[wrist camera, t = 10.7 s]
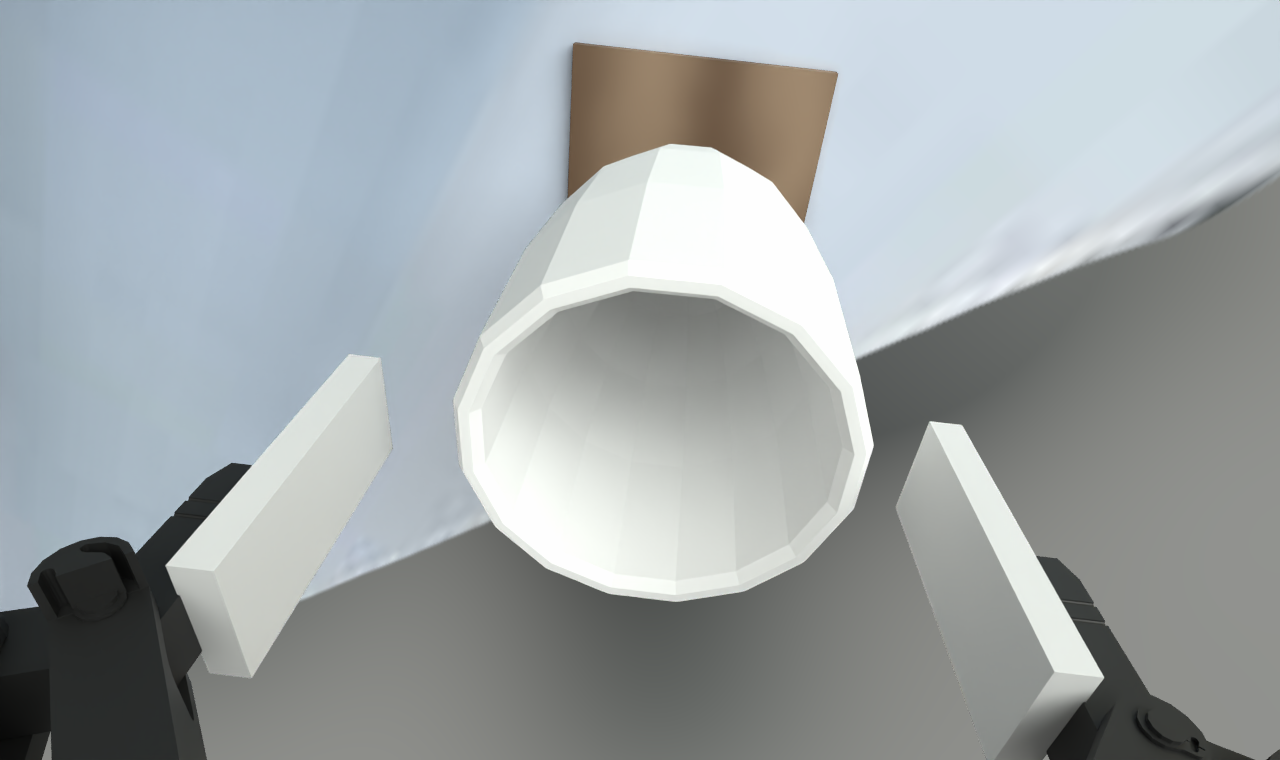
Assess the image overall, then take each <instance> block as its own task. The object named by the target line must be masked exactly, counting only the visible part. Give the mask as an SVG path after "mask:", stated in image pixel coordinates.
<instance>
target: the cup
mask: <svg viewBox="0 0 1280 760" xmlns="http://www.w3.org/2000/svg"><path fill="white" fill-rule="evenodd" d="M453 407H454V418H455V428H456V438H457V449H458V459H459V466H460V467H461V469H462V471H463V473H464V474H465V476H466V478H467V480H468V481H469V483H470V485H471V486H472V488H473V490H474V491H475V493H476V495H477V497H478V498H479V500H480V502H481V503H482V505H483V507H484V508H485V510H486V512H487V514H488V515H489V517H490V519H491V520H492V522H493V524H494V526H495V527H496V528H497V529H499V530H500V531H501V532H502V533H503V534H505V535H506V536H507V537H508V538H510V539H511V540H512V541H513V542H514V543H516V544H517V545H518V546H519V547H521V548H522V549H523V550H524V551H525V552H527V553H528V554H529V555H530V556H532V557H533V558H534V559H535V560H537V561H538V562H539V563H540V564H542V565H543V566H544V567H545V568H547V569H549V570H552V571H554V572H556V573H559V574H562V575H564V576H567V577H569V578H571V579H574V580H576V581H579V582H581V583H584V584H586V585H588V586H591V587H593V588H596V589H599V590H601V591H603V592H606V593H608V594H615V595H623V596H632V597H640V598H649V599H657V600H666V601H674V602H679V601H685V600H692V599H698V598H705V597H711V596H718V595H724V594H731V593H736V592H744V591H746V590H748V589H750V588H752V587H754V586H756V585H758V584H760V583H762V582H764V581H766V580H769V579H770V578H773V577H775V576H777V575H779V574H781V573H783V572H785V571H787V570H789V569H791V568H793V567H795V566H797V565H799V564H801V563H803V562H804V561H805V560H806V559H807V558H808V557H809V556H810V555H811V554H812V553H813V552H814V551H815V549H817V548H818V547H819V545H820V544H821V543H822V542H823V541H824V540H825V539H826V538H827V537H828V536H829V535H830V534H831V533H832V532H833V531H834V529H835V528H836V527H837V526H838V525H839V524H840V523H841V522H842V521H843V520H844V519H845V518H846V517H847V515H848V514H849V513H850V512H851V511H852V510H853V509H854V506H855V503H856V500H857V497H858V494H859V490H860V487H861V484H862V481H863V478H864V475H865V472H866V468H867V465H868V462H869V459H870V456H871V453H872V449H873V440H872V435H871V430H870V425H869V420H868V415H867V410H866V405H865V400H864V395H863V390H862V385H861V380H860V375H859V371H858V368H857V364H856V360H855V357H854V353H853V350H852V346H851V342H850V339H849V335H848V331H847V328H846V324H845V321H844V317H843V313H842V310H841V306H840V303H839V299H838V295H837V292H836V288H835V284H834V281H833V278H832V276H831V274H830V272H829V270H828V268H827V266H826V264H825V262H824V260H823V258H822V256H821V255H820V253H819V251H818V249H817V247H816V245H815V243H814V241H813V239H812V237H811V235H810V233H809V231H808V229H807V227H806V226H805V224H804V223H803V222H802V220H801V219H800V218H799V216H798V215H797V214H796V212H795V211H794V210H793V209H792V207H791V206H790V205H789V203H788V202H787V201H786V199H785V198H784V197H783V195H782V194H781V193H780V191H779V190H778V189H777V188H776V186H775V185H774V184H773V182H772V181H770V180H768V179H767V178H765V177H763V176H762V175H760V174H758V173H757V172H755V171H753V170H752V169H750V168H748V167H747V166H745V165H743V164H741V163H739V162H737V161H735V160H734V159H732V158H730V157H728V156H726V155H724V154H723V153H721V152H719V151H717V150H715V149H713V148H711V147H700V146H689V145H678V144H668V145H665V146H662V147H658V148H655V149H652V150H649V151H646V152H643V153H640V154H637V155H634V156H631V157H628V158H625V159H623V160H620V161H617V162H614V163H612V164H609V165H606V166H604V167H602V168H601V169H600V170H599V171H598V172H597V173H596V174H595V175H593V176H592V177H591V178H590V179H589V180H588V181H587V182H586V183H584V184H583V185H582V186H581V187H580V188H579V189H578V190H577V191H576V192H574V193H573V194H572V195H571V196H570V197H569V198H568V199H567V200H565V201H564V202H563V203H562V204H561V205H560V207H559V208H558V209H557V210H556V212H555V213H554V214H553V215H552V217H551V218H550V219H549V220H548V222H547V223H546V224H545V225H544V227H543V228H542V229H541V230H540V231H539V233H538V234H537V235H536V236H535V238H534V239H533V240H532V241H531V243H530V244H529V245H528V246H527V248H526V249H525V251H524V252H523V254H522V256H521V258H520V260H519V262H518V264H517V266H516V268H515V270H514V272H513V273H512V275H511V277H510V279H509V281H508V283H507V285H506V287H505V289H504V291H503V293H502V294H501V296H500V298H499V300H498V302H497V304H496V306H495V308H494V310H493V312H492V314H491V315H490V317H489V319H488V321H487V323H486V325H485V327H484V329H483V331H482V333H481V335H480V337H479V339H478V341H477V344H476V346H475V349H474V351H473V353H472V356H471V358H470V360H469V363H468V365H467V368H466V370H465V372H464V375H463V377H462V380H461V382H460V384H459V387H458V389H457V392H456V394H455V396H454V399H453Z"/></svg>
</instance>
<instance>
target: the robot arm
mask: <svg viewBox="0 0 1280 760" xmlns="http://www.w3.org/2000/svg"><path fill="white" fill-rule="evenodd" d="M392 449H393V447H392V439H391V431H390V424H389V416H388V408H387V401H386V393H385V385H384V378H383V370H382V363H381V358H378V357H370V356H361V355H352V354H349V355H348V356H347V357H346V358H345V359H344V361H343V362H342V363H341V364H340V365H339V366H338V368H337V369H336V370H335V371H334V372H333V373H332V374H331V376H330V377H329V378H328V379H327V380H326V381H325V382H324V384H323V385H322V386H321V387H320V388H319V389H318V391H317V392H316V393H315V394H314V395H313V396H312V397H311V399H310V400H309V401H308V402H307V403H306V404H305V406H304V407H303V408H302V409H301V410H300V411H299V412H298V414H297V415H296V416H295V417H294V418H293V419H292V420H291V422H290V423H289V424H288V425H287V426H286V427H285V429H284V430H283V431H282V432H281V433H280V434H279V435H278V437H277V438H276V439H275V440H274V441H273V442H272V443H271V445H270V446H269V447H268V448H267V449H266V450H265V452H264V453H263V454H262V455H261V456H260V457H259V458H258V460H257V461H256V462H255V463H254V464H253V465H246V464H237V463H231V464H229V465H228V466H226V467H224V468H223V469H221V470H219V471H218V472H216V473H214V474H213V475H211V476H209V477H208V478H206V479H205V480H204V481H203V482H202V484H201V485H200V486H199V487H198V488H197V489H196V490H195V491H194V492H193V493H192V494H191V495H190V496H189V500H188V501H185V502H184V503H183V504H182V505H181V506H180V507H179V508H178V509H177V510H176V511H175V514H174V516H171V517H170V518H169V519H168V520H167V521H166V522H165V523H164V524H163V525H162V526H161V527H160V528H159V529H158V531H157V532H156V533H155V534H154V535H153V536H152V537H151V538H150V539H149V540H148V541H147V542H146V543H145V544H144V546H143V547H142V548H141V549H140V550H139V551H138V552H137V553H136V554H135V552H134V550H133V549H132V547H131V545H130V544H129V542H127V541H124V540H122V539H119V538H117V537H97V538H92V539H87V540H82V541H79V542H76V543H74V544H71V545H69V546H66V547H64V548H62V549H60V550H58V551H57V552H55V553H54V554H52V555H50V556H49V557H47V558H46V559H44V560H43V561H42V562H41V563H40V564H39V565H38V567H37V568H36V569H35V570H34V571H33V572H32V573H31V576H30V579H29V582H28V585H27V587H28V588H29V590H30V592H31V593H32V595H33V597H34V599H35V600H36V602H37V604H38V606H39V607H33V608H26V609H18V610H11V611H4V612H0V760H42V757H43V754H44V750H45V747H46V744H47V741H48V737H49V734H50V731H51V750H52V760H207V759H206V753H205V748H204V744H203V739H202V734H201V729H200V724H199V719H198V714H197V709H196V704H195V700H194V695H193V690H192V685H191V681H190V679H189V677H188V674H187V672H188V670H189V669H190V667H191V666H192V665H193V663H194V662H195V661H196V659H197V658H198V656H199V655H200V653H201V654H202V657H203V659H204V662H205V664H206V667H207V669H208V672H209V673H212V674H220V675H228V676H237V677H245V678H252V677H253V675H254V674H255V672H256V670H257V669H258V667H259V665H260V664H261V662H262V660H263V659H264V657H265V656H266V654H267V652H268V651H269V649H270V648H271V646H272V644H273V643H274V641H275V639H276V638H277V636H278V635H279V633H280V631H281V630H282V628H283V626H284V625H285V623H286V622H287V620H288V618H289V617H290V615H291V613H292V612H293V610H294V609H295V607H296V605H297V604H298V602H299V600H300V599H301V597H302V596H303V594H304V592H305V591H306V589H307V587H308V586H309V584H310V582H311V581H312V579H313V578H314V576H315V574H316V573H317V571H318V569H319V568H320V566H321V565H322V563H323V561H324V560H325V558H326V556H327V555H328V553H329V552H330V550H331V548H332V547H333V545H334V543H335V542H336V540H337V539H338V537H339V535H340V534H341V532H342V530H343V529H344V527H345V526H346V524H347V522H348V521H349V519H350V517H351V516H352V514H353V513H354V511H355V509H356V508H357V506H358V504H359V503H360V501H361V500H362V498H363V496H364V495H365V493H366V491H367V490H368V488H369V487H370V485H371V483H372V482H373V480H374V478H375V477H376V475H377V473H378V472H379V470H380V469H381V467H382V465H383V464H384V462H385V460H386V459H387V457H388V456H389V454H390V452H391V451H392ZM896 510H897V513H898V516H899V519H900V521H901V524H902V527H903V530H904V532H905V535H906V538H907V541H908V543H909V546H910V549H911V552H912V555H913V557H914V560H915V563H916V566H917V569H918V571H919V574H920V577H921V580H922V583H923V585H924V588H925V591H926V593H927V596H928V599H929V602H930V605H931V608H932V610H933V613H934V616H935V619H936V622H937V624H938V627H939V629H940V633H941V635H942V638H943V641H944V644H945V646H946V649H947V652H948V655H949V658H950V660H951V663H952V666H953V669H954V672H955V674H956V677H957V680H958V683H959V685H960V688H961V691H962V694H963V697H964V699H965V702H966V705H967V708H968V711H969V713H970V716H971V719H972V722H973V724H974V727H975V730H976V733H977V735H978V738H979V741H980V744H981V747H982V749H983V752H984V754H985V758H986V760H1043V758H1044V757H1045V756H1046V755H1047V754H1048V757H1049V759H1050V760H1254V759H1251V758H1249V757H1246V756H1244V755H1241V754H1239V753H1236V752H1233V751H1231V750H1228V749H1226V748H1223V747H1220V746H1218V745H1215V744H1213V743H1211V742H1208V741H1206V739H1205V737H1204V735H1203V734H1202V732H1201V731H1200V730H1199V729H1198V728H1197V726H1196V725H1195V724H1194V723H1193V722H1192V721H1191V720H1190V719H1189V718H1188V717H1187V716H1186V715H1184V714H1183V713H1182V712H1180V711H1179V710H1178V709H1176V708H1175V707H1173V706H1172V705H1171V704H1169V703H1167V702H1165V701H1163V700H1160V699H1159V698H1156V697H1154V696H1152V695H1150V694H1149V692H1148V690H1147V689H1146V687H1145V685H1144V684H1143V682H1142V681H1141V679H1140V677H1139V676H1138V674H1137V672H1136V671H1135V669H1134V668H1133V666H1132V664H1131V663H1130V661H1129V660H1128V658H1127V656H1126V654H1125V653H1124V651H1123V650H1122V648H1121V646H1120V645H1119V643H1118V641H1117V640H1116V638H1115V637H1114V635H1113V633H1112V632H1111V630H1110V629H1109V627H1108V626H1105V620H1104V619H1103V617H1102V615H1101V614H1100V612H1099V610H1098V609H1097V607H1094V606H1093V601H1092V599H1091V597H1090V596H1089V594H1088V592H1087V591H1086V589H1085V588H1084V586H1083V584H1082V583H1081V581H1080V580H1079V579H1078V578H1077V577H1076V576H1075V575H1074V574H1073V573H1072V572H1071V571H1070V570H1069V569H1068V568H1067V567H1066V566H1064V565H1063V564H1062V563H1061V562H1060V561H1059V560H1058V559H1057V558H1048V557H1040V556H1035V554H1034V552H1033V550H1032V549H1031V547H1030V545H1029V543H1028V541H1027V540H1026V538H1025V536H1024V535H1023V533H1022V531H1021V529H1020V527H1019V526H1018V524H1017V522H1016V520H1015V518H1014V517H1013V515H1012V513H1011V511H1010V510H1009V508H1008V506H1007V504H1006V502H1005V501H1004V499H1003V497H1002V495H1001V494H1000V492H999V490H998V488H997V486H996V485H995V483H994V481H993V479H992V478H991V476H990V474H989V472H988V470H987V469H986V467H985V465H984V464H983V462H982V460H981V458H980V456H979V455H978V453H977V451H976V449H975V448H974V446H973V444H972V442H971V441H970V439H969V437H968V435H967V433H966V431H965V430H964V428H963V426H962V425H957V424H948V423H939V422H931V421H930V422H929V424H928V427H927V429H926V432H925V434H924V437H923V439H922V442H921V444H920V447H919V450H918V452H917V455H916V457H915V460H914V462H913V465H912V467H911V470H910V472H909V475H908V477H907V480H906V482H905V485H904V487H903V490H902V492H901V495H900V498H899V500H898V503H897V505H896ZM1267 760H1280V750H1278V751H1277V752H1275V753H1274V754H1273V755H1271V756H1270V757H1269V758H1268V759H1267Z"/></svg>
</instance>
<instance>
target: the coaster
mask: <svg viewBox="0 0 1280 760" xmlns="http://www.w3.org/2000/svg"><path fill="white" fill-rule="evenodd" d="M837 77H838V73H837V72H833V71H825V70H816V69H807V68H798V67H789V66H780V65H771V64H762V63H754V62H745V61H736V60H727V59H718V58H709V57H700V56H691V55H683V54H674V53H665V52H656V51H647V50H638V49H629V48H620V47H612V46H603V45H594V44H585V43H576V42H575V43H574V44H573V61H572V90H571V118H570V147H569V175H568V198H569V197H570V196H571V195H572V194H573V193H574V192H576V191H577V190H578V189H579V188H580V187H581V186H582V185H583V184H584V183H586V182H587V181H588V180H589V179H590V178H591V177H592V176H593V175H595V174H596V173H597V172H598V171H599V170H600V169H601V168H602V167H604V166H606V165H609V164H612V163H614V162H617V161H620V160H623V159H625V158H628V157H631V156H634V155H637V154H640V153H643V152H646V151H649V150H652V149H655V148H658V147H662V146H665V145H668V144H678V145H689V146H700V147H711V148H713V149H715V150H717V151H719V152H721V153H723V154H724V155H726V156H728V157H730V158H732V159H734V160H735V161H737V162H739V163H741V164H743V165H745V166H747V167H748V168H750V169H752V170H753V171H755V172H757V173H758V174H760V175H762V176H763V177H765V178H767V179H768V180H770V181H772V182H773V184H774V185H775V186H776V188H777V189H778V190H779V191H780V193H781V194H782V195H783V197H784V198H785V199H786V201H787V202H788V203H789V205H790V206H791V207H792V209H793V210H794V211H795V212H796V214H797V215H798V216H799V218H800V219H801V220H802V222H803V223H804V221H805V216H806V212H807V208H808V203H809V199H810V195H811V190H812V186H813V181H814V177H815V173H816V168H817V164H818V160H819V155H820V151H821V146H822V142H823V138H824V133H825V129H826V125H827V120H828V116H829V112H830V107H831V103H832V98H833V94H834V90H835V85H836V81H837Z"/></svg>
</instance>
